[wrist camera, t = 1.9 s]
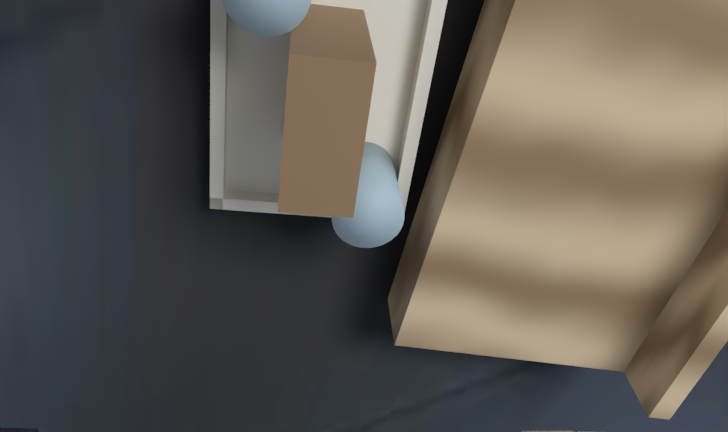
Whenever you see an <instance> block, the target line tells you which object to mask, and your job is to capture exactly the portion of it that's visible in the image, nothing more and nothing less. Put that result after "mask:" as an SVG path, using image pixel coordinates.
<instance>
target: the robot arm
mask: <svg viewBox="0 0 728 432" xmlns="http://www.w3.org/2000/svg"><path fill="white" fill-rule="evenodd" d="M0 432H39V431H38V429H36V428H0ZM520 432H573V431H520ZM594 432H599V431H594Z"/></svg>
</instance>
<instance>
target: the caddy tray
mask: <svg viewBox="0 0 728 432" xmlns="http://www.w3.org/2000/svg"><path fill="white" fill-rule="evenodd" d="M447 1H448V0H210V209H221V210H235V211H248V212H262V213H276V214H289V215H303V216H316V217H330V218H332V225H333V228H334V230H335V232H336V234H337V235H338V236H339V237H340V238H341V239H342V240H343V241H345V242H346V243H348V244H350V245H352V246H355V247H360V248H373V247H378V246H381V245H383V244H386V243H387V242H389V241H391V240H392V239H393V238H394V237H396V236H397V234H398V233H399V232H400V230H401V229H402V226H403V223H404V218H405V208H406V203H407V199H408V194H409V189H410V184H411V179H412V174H413V169H414V164H415V159H416V154H417V149H418V144H419V139H420V134H421V129H422V124H423V119H424V115H425V110H426V105H427V100H428V95H429V90H430V85H431V80H432V75H433V70H434V65H435V60H436V55H437V50H438V45H439V40H440V35H441V30H442V26H443V21H444V16H445V11H446V6H447Z"/></svg>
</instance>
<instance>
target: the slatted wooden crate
mask: <svg viewBox="0 0 728 432" xmlns="http://www.w3.org/2000/svg"><path fill="white" fill-rule="evenodd" d="M388 306H389V312H390V319H391V325H392V332H393V338H394V345H397V346H406V347H415V348H423V349H432V350H441V351H449V352H458V353H466V354H475V355H484V356H492V357H501V358H510V359H518V360H527V361H535V362H544V363H553V364H561V365H570V366H579V367H587V368H596V369H604V370H613V371H622V372H624V373H625V375H626V377H627V379H628V381H629V382H630V384H631V386H632V388H633V390H634V392H635V394H636V395H637V397H638V399H639V401H640V403H641V405H642V406H643V408H644V410H645V412H646V414H647V416H648V417H651V418H661V419H670V418H671V417H672V415H673V414H674V413H675V411H676V410H677V409H678V407H679V406H680V405H681V403H682V402H683V400H684V399H685V398H686V396H687V395H688V394H689V392H690V391H691V390H692V388H693V387H694V385H695V384H696V383H697V381H698V380H699V379H700V377H701V376H702V375H703V373H704V372H705V371H706V369H707V368H708V366H709V365H710V364H711V362H712V361H713V360H714V358H715V357H716V356H717V354H718V353H719V351H720V350H721V349H722V347H723V346H724V345H725V343H726V342H727V341H728V0H484V3H483V6H482V9H481V12H480V15H479V18H478V22H477V25H476V28H475V31H474V34H473V37H472V40H471V43H470V46H469V49H468V52H467V55H466V59H465V62H464V65H463V68H462V71H461V74H460V77H459V80H458V83H457V86H456V89H455V92H454V95H453V99H452V102H451V105H450V108H449V111H448V114H447V117H446V120H445V123H444V126H443V129H442V132H441V136H440V139H439V142H438V145H437V148H436V151H435V154H434V157H433V160H432V163H431V166H430V169H429V172H428V176H427V179H426V182H425V185H424V188H423V191H422V194H421V197H420V200H419V203H418V206H417V209H416V213H415V216H414V219H413V222H412V225H411V228H410V231H409V234H408V237H407V240H406V243H405V246H404V249H403V253H402V256H401V259H400V262H399V265H398V268H397V271H396V274H395V277H394V280H393V283H392V286H391V290H390V293H389V296H388Z"/></svg>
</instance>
